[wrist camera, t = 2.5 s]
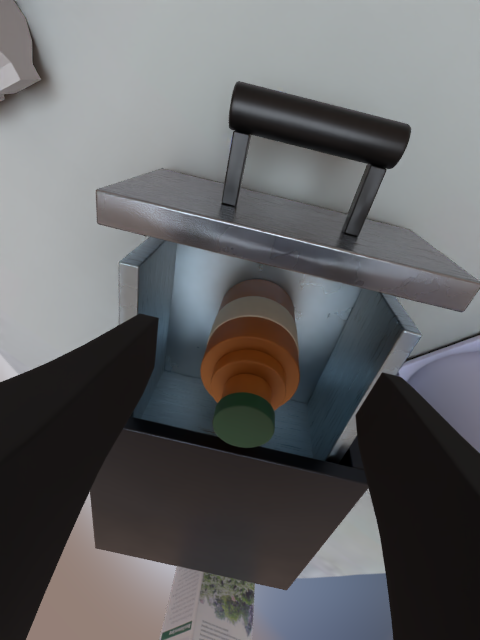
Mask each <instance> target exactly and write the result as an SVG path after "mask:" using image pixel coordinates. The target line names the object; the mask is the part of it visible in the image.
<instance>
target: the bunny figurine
mask: <svg viewBox="0 0 480 640" xmlns="http://www.w3.org/2000/svg"><path fill="white" fill-rule="evenodd" d="M40 80H41V78H40V77H39V75H38V73H37V71H36V69H35V67H34V66H33V64H32V39H31V36H30V32H29V29H28V25H27V22H26V18H25V16H24V15H23V13H22V12H21V11H20V9H19V8H18V6H17V5H16V3H15V2H14V0H0V102H1V101H3V100H4V99H5V98H4V94H15V93H17V92H19V91H21V90H23V89H25V88H27V87H28V86H30V85H32V84H34V83H36V82H38V81H40Z"/></svg>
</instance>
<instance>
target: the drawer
mask: <svg viewBox="0 0 480 640" xmlns="http://www.w3.org/2000/svg"><path fill="white" fill-rule="evenodd" d="M229 128H230V129H231V130H235V131H234V132H233V137H232V143H231V148H230V154H229V160H228V166H227V172H226V178H225V184H224V183H220V182H216V181H212V180H207V179H203V178H199V177H195V176H191V175H187V174H183V173H179V172H175V171H171V170H167V169H163V168H162V169H158V170H155V171H152V172H149V173H146V174H143V175H140V176H137V177H133V178H130V179H127V180H124V181H121V182H118V183H115V184H112V185H109V186H105V187H102V188H99V189H97V190H96V208H97V223H98V224H100V225H104V226H108V227H112V228H116V229H120V230H124V231H128V232H132V233H137V234H141V235H145V236H149V238H148V239H147V240H145V241H144V242H143V243H142V244H140V245H139V246H138V247H137V248H136V249H134V250H133V251H132V252H131V253H129V254H128V255H127V256H126V257H125V258H123V259H122V260H121V261H120V262H119V325H120V324H122V323H124V322H125V321H127V320H129V319H130V318H132V317H134V316H136V315H138V314H139V313H141V314H145V315H149V316H153V317H157V318H159V322H158V333H157V344H156V355H155V367H154V369H153V372H152V374H151V377H150V379H149V381H148V384H147V386H146V388H145V391H144V393H143V395H142V397H141V399H140V400H139V402H138V404H137V406H136V407H135V409H134V411H133V413H132V414H131V417H135V418H140V419H144V420H148V421H153V422H157V423H161V424H166V425H170V426H174V427H179V428H183V429H187V430H192V431H196V432H200V433H205V434H209V435H213V436H217V434H216V433H215V431H214V429H213V423H212V422H213V417H214V413H215V408H216V405H217V402H216V401H215V399H214V398H213V397H212V396H211V395H210V394H209V393H208V391H207V390H206V388H205V387H204V385H203V382H202V379H201V373H200V368H201V363H202V360H203V357H204V354H205V351H206V347H207V342H208V338H209V335H210V332H211V329H212V326H213V323H214V321H215V318H216V316H217V314H218V312H219V309H220V306H221V303H222V300H223V298H224V296H225V294H226V293H227V292H228V290H229V289H231V288H232V287H233V286H234V285H236V284H238V283H240V282H242V281H246V280H251V279H262V280H267V281H270V282H273V283H275V284H277V285H278V286H280V287H281V288H283V289H284V290H285V291H286V292H287V294H288V295H289V296H290V298H291V300H292V302H293V306H294V313H295V324H296V328H297V336H298V347H299V371H300V381H299V385H298V388H297V390H296V392H295V394H294V395H293V396H292V398H291V399H290V400H288V401H287V402H286V403H285V404H283V405H281V406H280V407H278V408H277V409H276V410H275V411H274V412H275V431H274V434H273V436H272V438H271V439H270V440H269V441H268V442H266V443H265V444H263V445H260V446H261V447H266V448H270V449H274V450H279V451H283V452H287V453H292V454H296V455H300V456H305V457H309V458H313V459H318V460H322V461H326V462H331V463H335V464H339V462H340V461H341V459H342V458H343V456H344V455H345V453H346V452H347V450H348V448H349V447H350V445H351V444H352V442H353V441H354V439H355V438H356V436H357V429H356V417H355V415H356V413H357V412H358V410H359V409H360V407H361V405H362V404H363V402H364V401H365V399H366V397H367V396H368V394H369V393H370V391H371V389H372V388H373V386H374V385H375V383H376V381H377V380H378V378H379V377H380V375H381V373H382V372H383V373H387V374H391V375H395V376H396V375H397V373H398V372H399V370H400V369H401V367H402V366H403V364H404V362H405V361H406V359H407V358H408V356H409V355H410V353H411V352H412V350H413V349H414V347H415V346H416V344H417V343H418V341H419V339H420V338H421V336H422V334H421V332H420V331H419V330H418V328H417V327H416V325H415V324H414V322H413V321H412V320H411V318H410V317H409V315H408V314H407V312H406V311H405V310H404V308H403V307H402V305H401V304H400V303H399V301H398V300H397V298H396V297H395V296H397V297H401V298H405V299H409V300H413V301H417V302H421V303H426V304H430V305H434V306H438V307H442V308H446V309H450V310H455V311H459V312H463V311H465V309H466V308H467V306H468V305H469V303H470V302H471V301H472V299H473V298H474V296H475V295H476V293H477V292H478V291H479V289H480V281H478V280H477V279H476V278H474V277H473V276H472V275H470V274H469V273H468V272H466V271H465V270H464V269H462V268H461V267H460V266H458V265H457V264H456V263H454V262H453V261H452V260H450V259H449V258H448V257H446V256H445V255H444V254H442V253H441V252H440V251H438V250H437V249H436V248H434V247H433V246H432V245H430V244H429V243H428V242H426V241H425V240H424V239H422V238H421V237H420V236H418V235H417V234H416V233H414V232H413V231H411V230H410V229H406V228H402V227H398V226H394V225H390V224H386V223H382V222H378V221H374V220H369V219H366V217H367V215H368V213H369V210H370V208H371V206H372V203H373V201H374V199H375V196H376V194H377V191H378V189H379V187H380V184H381V182H382V180H383V177H384V175H385V173H386V169H391V168H393V167H394V166H395V165H396V164H397V163H398V162H399V160H400V159H401V157H402V155H403V153H404V151H405V149H406V147H407V144H408V142H409V138H410V133H411V127H410V126H409V125H408V124H405V123H401V122H397V121H393V120H389V119H385V118H382V117H378V116H374V115H370V114H366V113H362V112H358V111H354V110H350V109H346V108H342V107H338V106H334V105H330V104H326V103H322V102H319V101H315V100H311V99H307V98H303V97H299V96H295V95H291V94H287V93H283V92H279V91H275V90H271V89H267V88H263V87H259V86H256V85H252V84H248V83H244V82H240V81H239V82H237V83H236V84H235V87H234V90H233V94H232V99H231V104H230V112H229ZM250 134H251V135H255V136H259V137H263V138H267V139H271V140H275V141H279V142H283V143H287V144H291V145H295V146H299V147H303V148H307V149H311V150H315V151H319V152H323V153H327V154H331V155H335V156H339V157H343V158H347V159H351V160H355V161H359V162H363V163H366V164H367V166H366V169H365V171H364V174H363V176H362V179H361V181H360V184H359V187H358V189H357V192H356V194H355V197H354V199H353V202H352V205H351V207H350V210H349V212H348V214H345V213H341V212H337V211H333V210H329V209H325V208H321V207H317V206H313V205H309V204H305V203H301V202H297V201H293V200H288V199H284V198H280V197H276V196H272V195H268V194H264V193H260V192H256V191H252V190H248V189H244V188H241V184H242V179H243V173H244V168H245V163H246V158H247V153H248V148H249V143H250V138H251V135H250Z"/></svg>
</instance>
